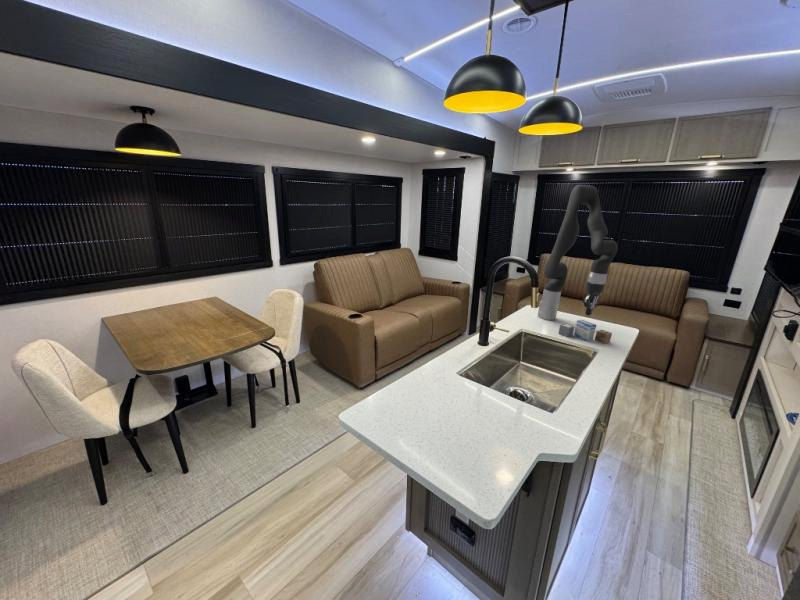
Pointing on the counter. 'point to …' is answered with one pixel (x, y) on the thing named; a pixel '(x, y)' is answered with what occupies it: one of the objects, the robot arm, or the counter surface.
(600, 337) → the walnut block
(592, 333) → the medicine box
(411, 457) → the counter surface
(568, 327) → the slate block
